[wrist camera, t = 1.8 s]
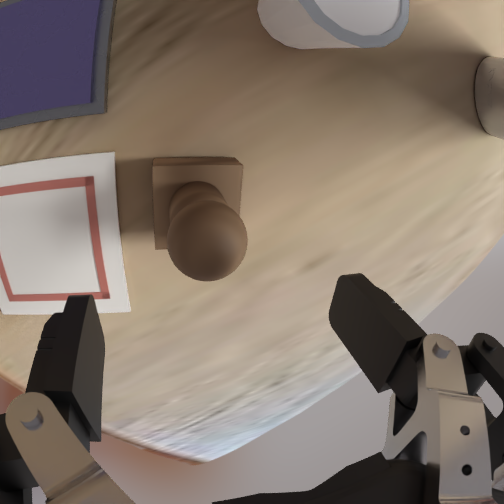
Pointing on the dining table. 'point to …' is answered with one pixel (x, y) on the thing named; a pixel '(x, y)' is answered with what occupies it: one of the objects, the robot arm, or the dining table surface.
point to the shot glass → (334, 22)
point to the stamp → (199, 214)
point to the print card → (60, 235)
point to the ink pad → (54, 59)
